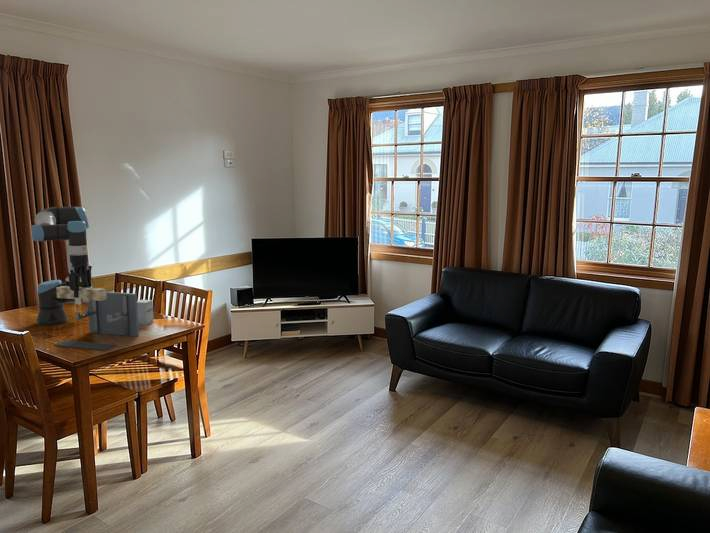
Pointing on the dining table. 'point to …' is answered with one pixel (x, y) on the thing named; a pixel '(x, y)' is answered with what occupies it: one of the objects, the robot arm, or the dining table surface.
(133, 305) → the wall board
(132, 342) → the dining table surface
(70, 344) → the rubber mat
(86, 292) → the birch rail
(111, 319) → the hook standards
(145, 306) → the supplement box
